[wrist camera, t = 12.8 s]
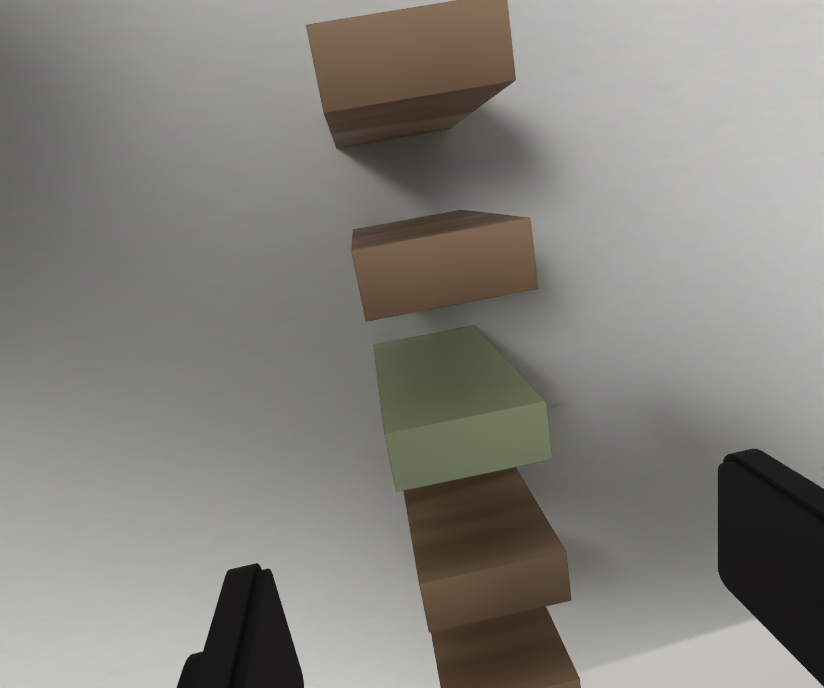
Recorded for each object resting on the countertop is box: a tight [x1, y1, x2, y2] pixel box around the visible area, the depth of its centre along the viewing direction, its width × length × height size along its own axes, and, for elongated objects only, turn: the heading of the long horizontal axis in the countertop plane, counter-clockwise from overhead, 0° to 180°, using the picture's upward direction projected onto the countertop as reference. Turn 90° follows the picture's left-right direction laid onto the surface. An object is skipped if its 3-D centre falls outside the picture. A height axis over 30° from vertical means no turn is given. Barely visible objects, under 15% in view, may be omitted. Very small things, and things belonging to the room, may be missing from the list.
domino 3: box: [404, 467, 571, 632], centre depth 23 cm, size 2×5×10 cm, turn 100°
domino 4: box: [431, 606, 581, 688], centre depth 24 cm, size 2×5×10 cm, turn 100°
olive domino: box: [373, 326, 552, 492], centre depth 21 cm, size 2×5×10 cm, turn 100°
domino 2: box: [352, 210, 538, 322], centre depth 20 cm, size 2×5×10 cm, turn 100°
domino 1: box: [306, 0, 516, 148], centre depth 18 cm, size 2×5×10 cm, turn 100°
